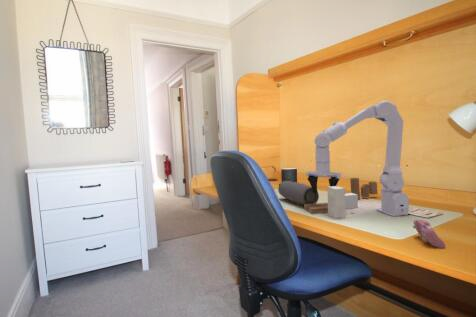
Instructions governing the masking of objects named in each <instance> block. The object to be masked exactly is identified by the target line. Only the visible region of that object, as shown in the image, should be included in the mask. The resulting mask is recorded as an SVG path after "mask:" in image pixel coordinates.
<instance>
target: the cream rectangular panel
mask: <svg viewBox="0 0 476 317" xmlns="http://www.w3.org/2000/svg"><path fill="white" fill-rule="evenodd" d="M355 214H356V213H354V212H352V211H350V212H349V211H348V212H345V215H355Z"/></svg>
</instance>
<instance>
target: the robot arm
mask: <svg viewBox="0 0 476 317" xmlns="http://www.w3.org/2000/svg"><path fill="white" fill-rule="evenodd" d="M373 118H374V119H376V120H378V121H381V122H382V123H383V124H385V125H386V126H387V131H386V132H387V134H386V146H385V147H386V150H385V159H384V161H385V162H384V166H383V169H382V174H380V176H379V182H380V184H381V185H382V186H381V188H380V193H381V194H380V195H381V196H380V199H381V203H380V205H381V206H380V208H375V210H376V211H378V212H380V213H384V214H386V215H389V216H391V217H396V216H397V217H398V216H409V215H408V214H410V215H411V212H410V211H409V210H410V208H409V204H410V202H409V201H410V198H409V196H408V195H407V194H406V193H404V191H403V188H404V185H405V180H404V177H403V171H402V169H401V156H402V142H403V131H404V119H403V117H402V115H401V114H400V112H399V110H398V107H397V105H396V104H394V103H393V102H391V101H390V100H381V101H379V102H378V103H377V102H376V103H375V104H372V105H371V106H368V107H366V108H364V109H363V110H361V111H359V112H357V113H356V114H355V115H353V116H352V117H350V118H348V119H347V120H345V121H344V122H340V121H338V122H333V123H332V124H331V126H330V127H328V128H327V129H323V130H322V131H321V133H318V134H317V135H316V136H315V138H314V140H313V141H314V144H315V147H314V148H315V151H314V152H315V171H306V173H305V175H306V177H307V181H308V182H309V184H310V187H312V190H313V193H314V194H315V193H317V191H318V180H319V178H328V182H329V184H328V185H329V186H338V183H339V181H340V179H341V178H342V173H341V172H334V171H331V156H330V155H331V154H330V153H331V152H330V144H331V143H333V142H335V141H337V140H338V139H341V137H344V136H345V135H346V134H347V133H348V130H349V129H350V128H352V127H354V126H355V125H357V124H359V123H361V122H362V121H364V120H366V119H373Z"/></svg>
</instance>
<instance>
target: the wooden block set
mask: <svg viewBox="0 0 476 317" xmlns="http://www.w3.org/2000/svg"><path fill="white" fill-rule="evenodd" d="M349 179H350V180H349V181H350V182H349V183H350V193H354V194H357V195H358V200H360V199H361V197H362V198H369V197H370V195H378V182H377V181H368V183H364V184H362V185H360V178H359V177H351V178H349Z"/></svg>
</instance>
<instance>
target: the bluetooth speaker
mask: <svg viewBox="0 0 476 317" xmlns="http://www.w3.org/2000/svg"><path fill="white" fill-rule="evenodd" d="M277 189H278V193H279V195H280V196H282V197H283V198H285V199H287V200H289V202H291V203H293V204H296V205H300V206H304V205H305V204H317V203H318V201H319V198H320V197H319V196H320V194H319V192H318V190H317V193H315V194H314V193H313V190H312V187H311V185H307V184H304V183H300V182H295V181H290V180H284V181H282V182H280V184H279V185H278V188H277Z"/></svg>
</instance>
